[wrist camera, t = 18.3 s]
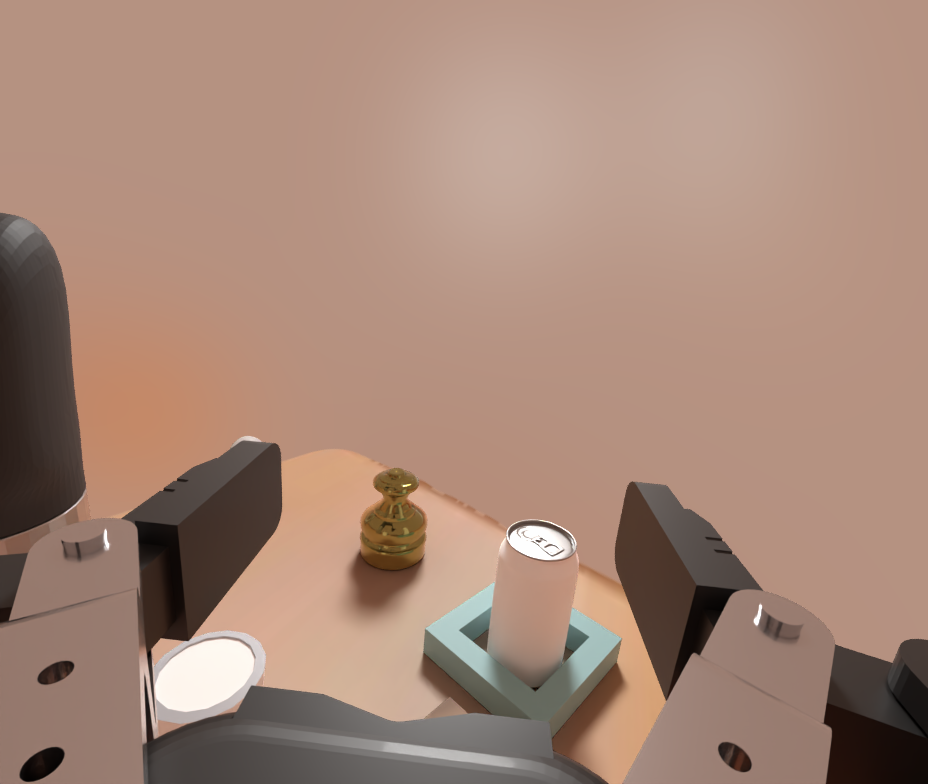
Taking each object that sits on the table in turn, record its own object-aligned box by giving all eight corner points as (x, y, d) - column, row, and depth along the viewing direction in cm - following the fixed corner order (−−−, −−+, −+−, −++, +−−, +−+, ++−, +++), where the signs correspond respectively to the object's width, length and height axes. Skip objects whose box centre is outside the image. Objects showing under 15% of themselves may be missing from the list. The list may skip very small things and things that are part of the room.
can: (521, 620, 46) (537, 509, 43) (576, 665, 42) (599, 545, 38) (470, 651, 42) (484, 531, 39) (525, 706, 38) (545, 575, 34)
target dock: (423, 652, 42) (425, 628, 41) (509, 590, 50) (512, 570, 49) (537, 755, 34) (542, 728, 33) (616, 661, 42) (621, 638, 42)
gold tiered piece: (415, 529, 60) (420, 454, 57) (433, 566, 53) (439, 484, 50) (355, 536, 57) (357, 459, 54) (365, 577, 50) (368, 491, 47)
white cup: (157, 727, 34) (146, 646, 32) (263, 693, 37) (260, 617, 35) (147, 833, 28) (134, 741, 26) (275, 781, 31) (272, 696, 29)
